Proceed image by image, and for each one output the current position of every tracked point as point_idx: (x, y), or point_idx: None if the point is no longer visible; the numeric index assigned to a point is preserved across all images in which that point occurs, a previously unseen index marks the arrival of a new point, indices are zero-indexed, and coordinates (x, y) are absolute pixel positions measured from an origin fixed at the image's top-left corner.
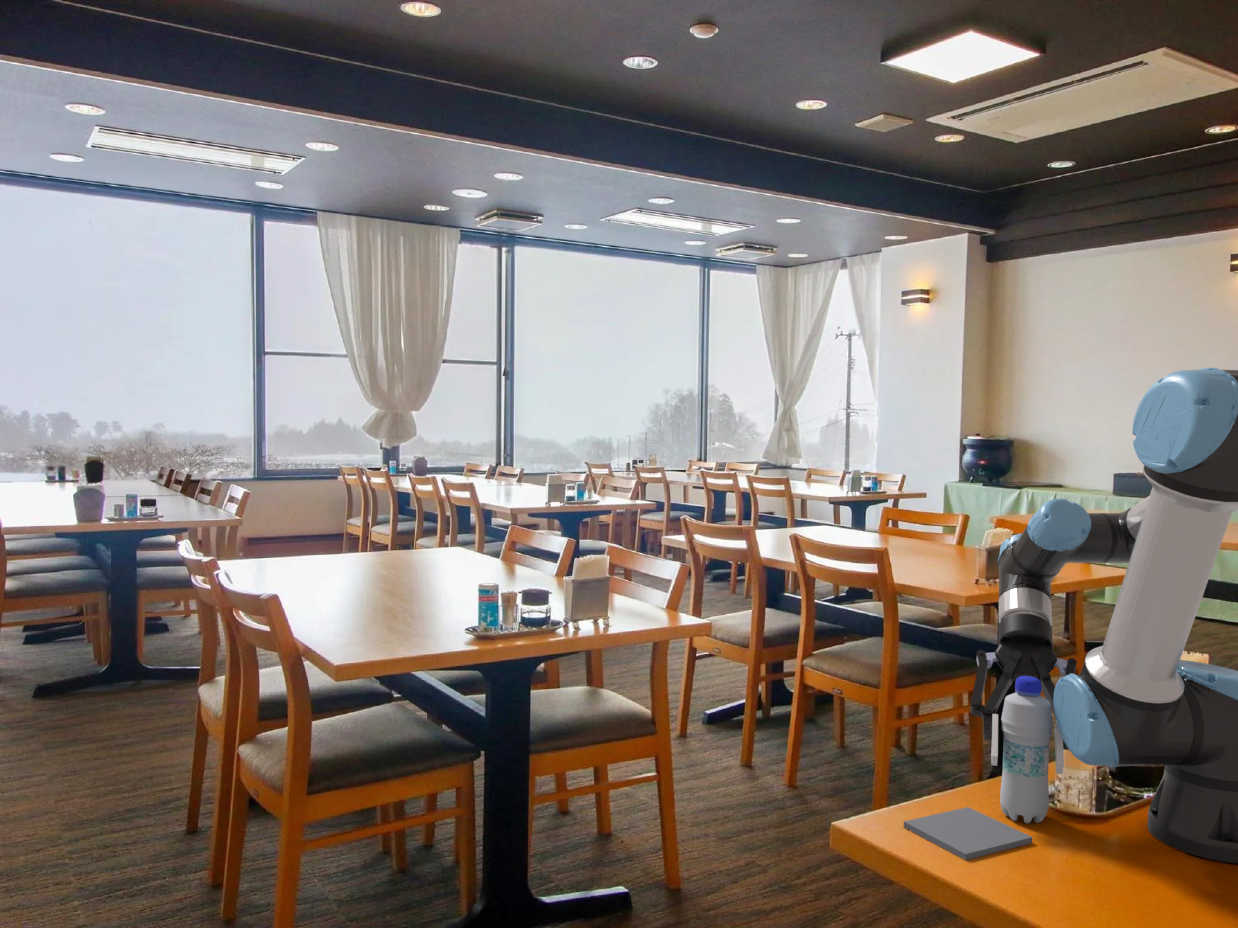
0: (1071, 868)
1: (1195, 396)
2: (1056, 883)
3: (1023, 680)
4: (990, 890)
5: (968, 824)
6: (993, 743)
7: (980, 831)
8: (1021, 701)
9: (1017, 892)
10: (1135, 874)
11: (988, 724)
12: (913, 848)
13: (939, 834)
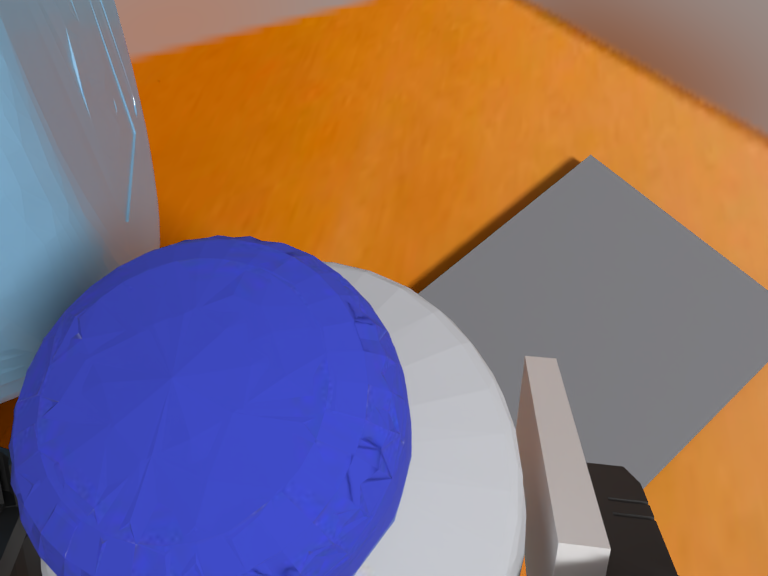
0: (318, 197)
1: None
2: (375, 115)
3: (303, 266)
4: (528, 48)
5: (589, 357)
6: (558, 394)
7: (549, 312)
8: (371, 301)
9: (470, 56)
10: (165, 209)
11: (617, 521)
12: (733, 193)
13: (675, 253)
